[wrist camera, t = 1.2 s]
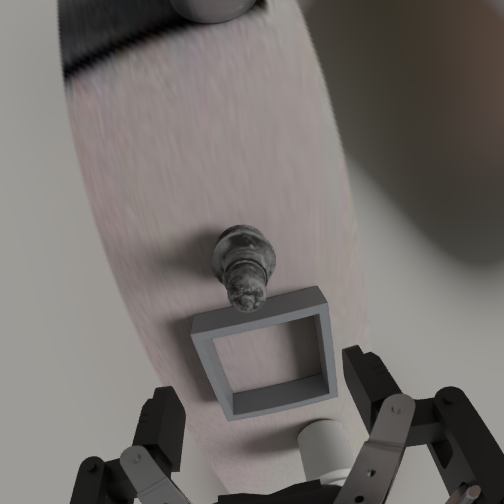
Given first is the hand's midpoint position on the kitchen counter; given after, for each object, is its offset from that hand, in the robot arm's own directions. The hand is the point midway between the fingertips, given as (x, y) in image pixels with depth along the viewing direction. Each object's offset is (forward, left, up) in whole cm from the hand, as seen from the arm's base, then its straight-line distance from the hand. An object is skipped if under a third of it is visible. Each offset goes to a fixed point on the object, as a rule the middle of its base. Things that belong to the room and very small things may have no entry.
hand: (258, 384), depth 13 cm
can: (+32, +4, -20) cm, 38 cm away
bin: (+13, 0, -20) cm, 24 cm away
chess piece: (0, 0, -20) cm, 20 cm away
